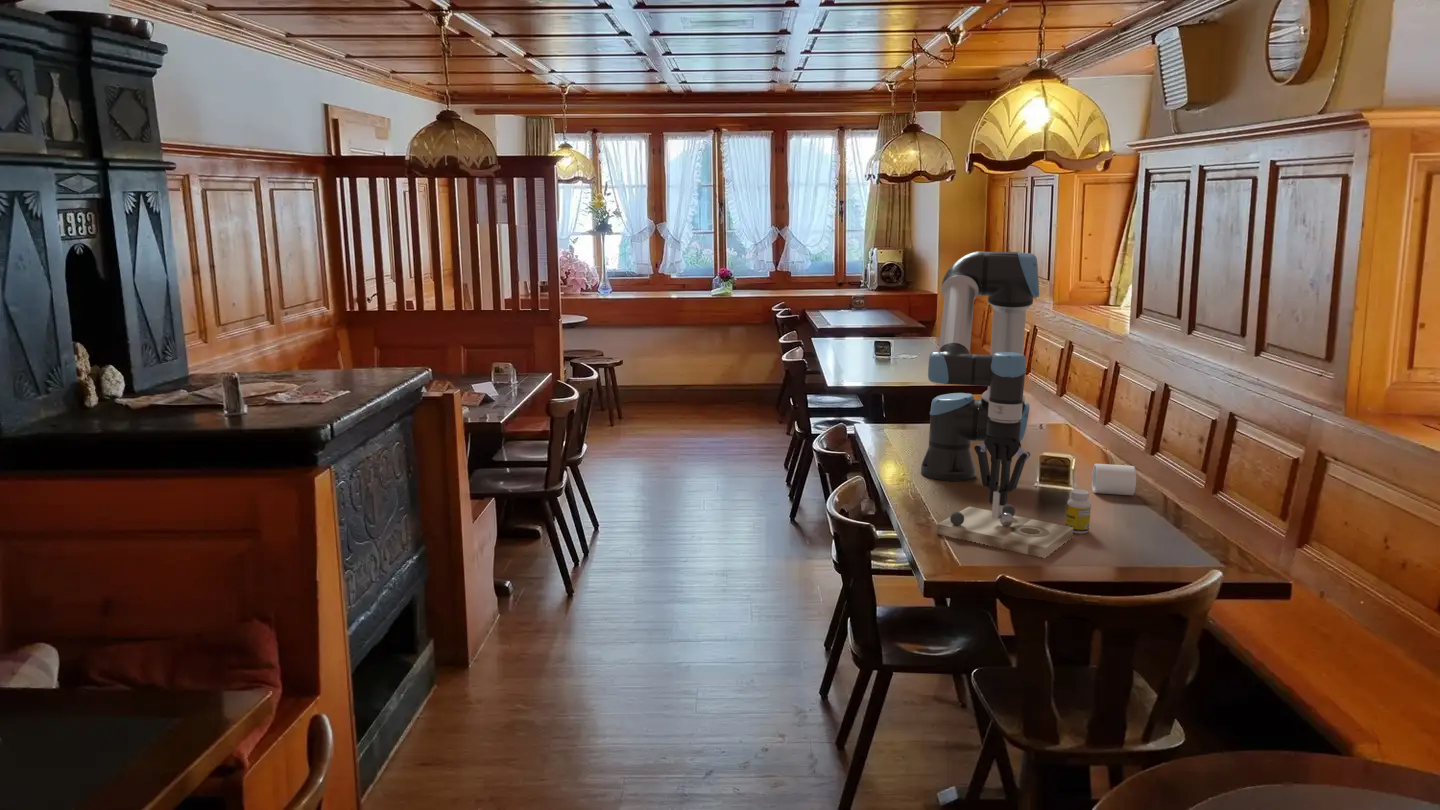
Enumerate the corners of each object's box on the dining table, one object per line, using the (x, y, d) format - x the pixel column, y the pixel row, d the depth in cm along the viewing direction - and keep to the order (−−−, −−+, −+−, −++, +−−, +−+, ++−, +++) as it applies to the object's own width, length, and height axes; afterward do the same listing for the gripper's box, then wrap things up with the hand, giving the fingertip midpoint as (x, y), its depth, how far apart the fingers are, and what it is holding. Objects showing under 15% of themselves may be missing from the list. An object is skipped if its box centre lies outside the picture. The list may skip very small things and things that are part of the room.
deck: (936, 534, 239) (937, 523, 238) (968, 515, 253) (969, 506, 252) (1045, 558, 223) (1046, 547, 223) (1072, 537, 237) (1073, 527, 237)
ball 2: (998, 517, 244) (999, 505, 243) (1003, 514, 246) (1004, 501, 245) (1011, 520, 242) (1012, 507, 241) (1016, 517, 244) (1017, 504, 243)
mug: (1134, 499, 269) (1137, 470, 268) (1095, 496, 271) (1097, 467, 270) (1126, 486, 281) (1128, 459, 279) (1088, 484, 283) (1090, 456, 281)
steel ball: (1012, 518, 234) (1006, 530, 236) (1018, 516, 237) (1012, 527, 238) (1000, 511, 236) (994, 522, 237) (1006, 509, 238) (1000, 520, 240)
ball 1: (947, 525, 237) (948, 512, 237) (953, 522, 240) (954, 509, 239) (960, 528, 235) (961, 515, 235) (966, 525, 238) (966, 511, 237)
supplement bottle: (1061, 527, 245) (1064, 488, 243) (1082, 526, 246) (1086, 488, 244) (1070, 534, 240) (1074, 494, 238) (1092, 534, 240) (1096, 494, 238)
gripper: (971, 418, 234) (964, 515, 239) (1025, 426, 227) (1017, 527, 231) (984, 413, 240) (977, 508, 245) (1037, 421, 233) (1029, 519, 237)
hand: (996, 517), depth 238 cm, fingers closed
